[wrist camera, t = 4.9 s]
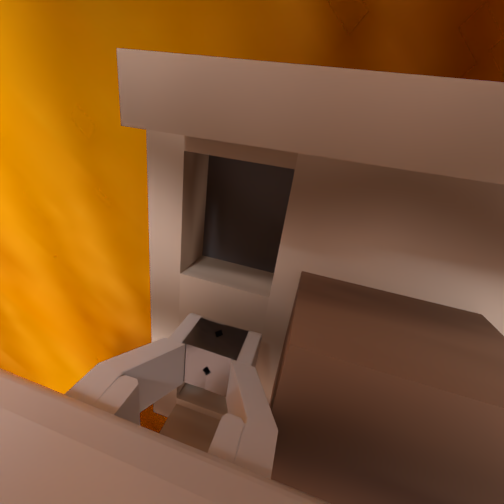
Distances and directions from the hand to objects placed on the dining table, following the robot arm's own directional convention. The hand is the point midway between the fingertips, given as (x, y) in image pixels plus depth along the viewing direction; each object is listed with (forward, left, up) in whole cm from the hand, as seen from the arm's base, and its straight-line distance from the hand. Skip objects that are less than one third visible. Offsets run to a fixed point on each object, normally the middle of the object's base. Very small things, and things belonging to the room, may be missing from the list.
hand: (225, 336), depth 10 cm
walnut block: (0, +5, -1) cm, 5 cm away
